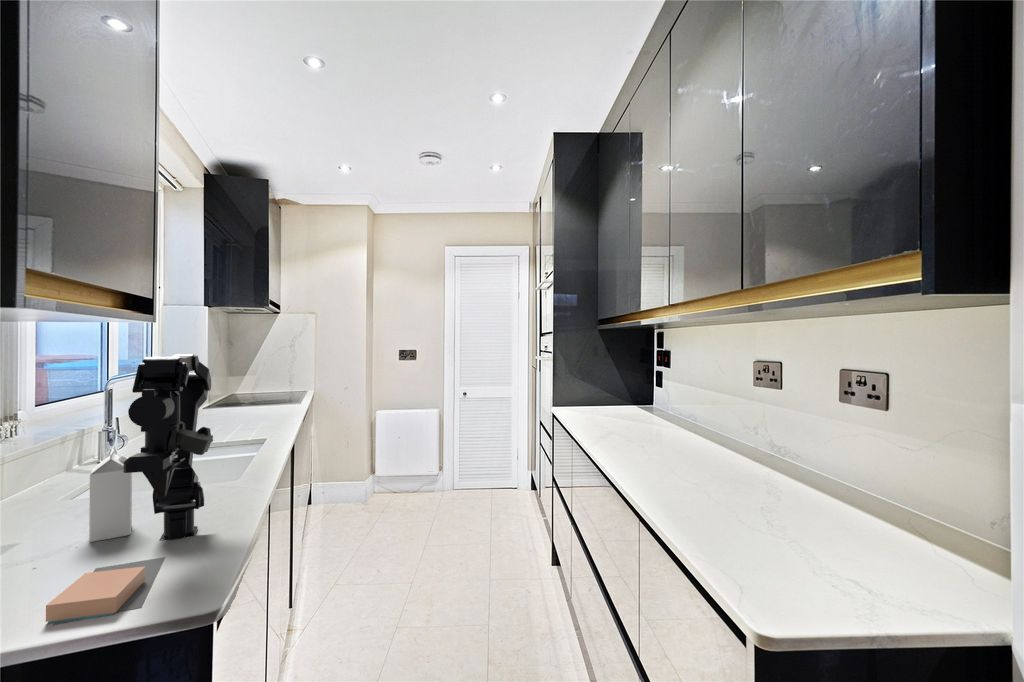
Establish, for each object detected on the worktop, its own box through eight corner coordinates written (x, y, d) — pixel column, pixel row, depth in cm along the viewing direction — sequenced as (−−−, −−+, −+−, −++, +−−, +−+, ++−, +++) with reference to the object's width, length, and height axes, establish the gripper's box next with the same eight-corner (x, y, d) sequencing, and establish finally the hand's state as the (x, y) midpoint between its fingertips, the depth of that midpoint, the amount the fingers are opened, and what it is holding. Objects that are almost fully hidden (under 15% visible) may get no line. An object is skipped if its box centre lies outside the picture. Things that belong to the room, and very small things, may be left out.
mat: (95, 571, 93) (95, 568, 93) (165, 559, 98) (165, 556, 98) (52, 629, 74) (52, 625, 74) (141, 611, 79) (141, 607, 79)
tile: (85, 573, 85) (45, 605, 74) (145, 566, 88) (115, 596, 77) (85, 588, 85) (45, 623, 74) (145, 581, 88) (115, 614, 77)
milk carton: (88, 543, 106) (89, 456, 106) (92, 532, 112) (93, 450, 112) (130, 535, 110) (130, 452, 110) (131, 526, 116) (132, 446, 116)
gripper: (192, 424, 91) (192, 508, 91) (221, 411, 108) (221, 480, 108) (122, 427, 87) (121, 514, 87) (163, 413, 105) (163, 485, 105)
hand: (162, 496), depth 97 cm, fingers closed
